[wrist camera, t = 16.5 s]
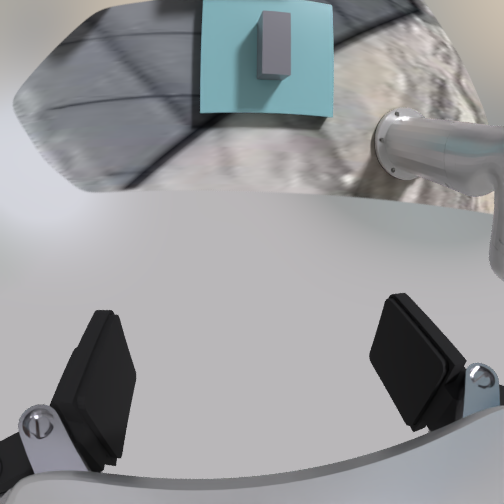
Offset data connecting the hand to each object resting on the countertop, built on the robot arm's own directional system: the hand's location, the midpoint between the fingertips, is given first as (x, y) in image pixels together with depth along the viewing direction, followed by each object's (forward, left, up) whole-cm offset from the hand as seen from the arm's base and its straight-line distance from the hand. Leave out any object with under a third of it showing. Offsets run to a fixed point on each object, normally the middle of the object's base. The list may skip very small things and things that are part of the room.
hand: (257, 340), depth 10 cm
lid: (-6, -18, -36) cm, 41 cm away
